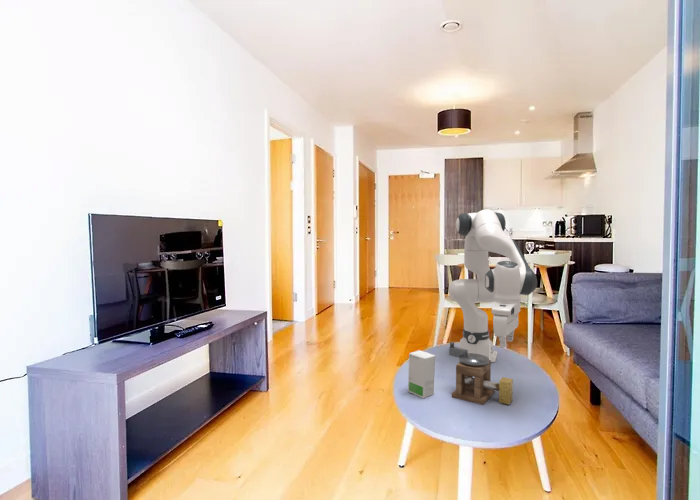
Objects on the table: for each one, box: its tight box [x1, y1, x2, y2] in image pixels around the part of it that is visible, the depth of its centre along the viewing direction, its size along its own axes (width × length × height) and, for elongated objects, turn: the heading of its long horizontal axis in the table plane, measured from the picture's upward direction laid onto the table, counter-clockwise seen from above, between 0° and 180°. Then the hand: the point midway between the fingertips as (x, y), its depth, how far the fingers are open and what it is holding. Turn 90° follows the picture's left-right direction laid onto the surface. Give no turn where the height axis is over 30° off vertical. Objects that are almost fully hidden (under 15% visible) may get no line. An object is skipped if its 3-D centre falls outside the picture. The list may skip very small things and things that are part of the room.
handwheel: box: [448, 341, 489, 367], centre depth 155 cm, size 16×11×6 cm
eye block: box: [451, 360, 495, 406], centre depth 154 cm, size 14×12×12 cm
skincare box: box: [407, 349, 436, 399], centre depth 156 cm, size 8×7×16 cm
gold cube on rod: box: [465, 376, 514, 406], centre depth 152 cm, size 4×20×8 cm, turn 54°
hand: (506, 344), depth 146 cm, fingers open, 8 cm apart
